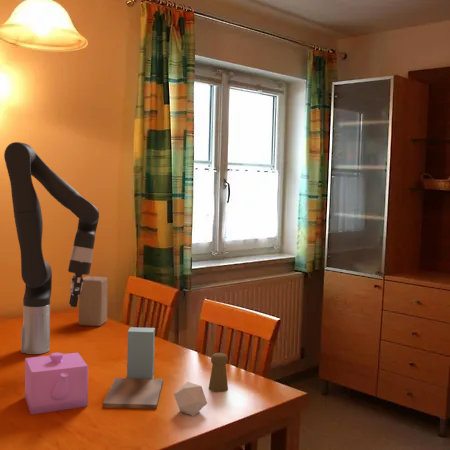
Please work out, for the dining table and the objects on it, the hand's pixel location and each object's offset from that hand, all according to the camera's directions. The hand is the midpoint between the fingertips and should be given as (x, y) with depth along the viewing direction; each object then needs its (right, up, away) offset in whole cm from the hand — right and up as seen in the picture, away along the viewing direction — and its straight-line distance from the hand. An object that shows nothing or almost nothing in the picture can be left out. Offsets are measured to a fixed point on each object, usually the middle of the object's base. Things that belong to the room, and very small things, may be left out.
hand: (72, 305), depth 199 cm
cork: (+52, -22, -24) cm, 61 cm away
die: (+44, -24, -42) cm, 65 cm away
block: (-4, -15, +46) cm, 49 cm away
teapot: (+6, -22, -39) cm, 46 cm away
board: (+27, -22, -31) cm, 47 cm away
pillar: (+27, -21, -18) cm, 38 cm away
